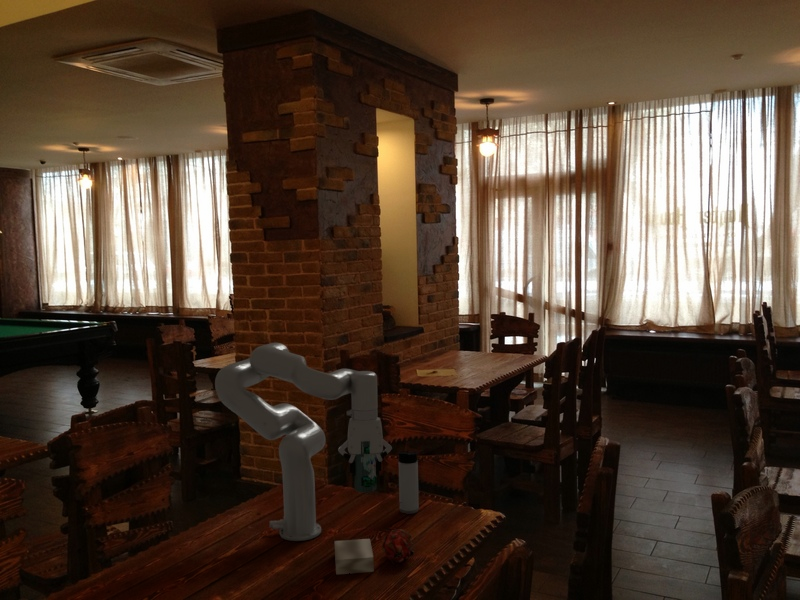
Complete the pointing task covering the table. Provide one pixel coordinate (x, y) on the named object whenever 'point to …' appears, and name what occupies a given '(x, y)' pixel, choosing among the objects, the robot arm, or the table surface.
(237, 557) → the table surface
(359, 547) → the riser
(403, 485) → the travel mug
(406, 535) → the dragon fruit
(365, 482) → the can
